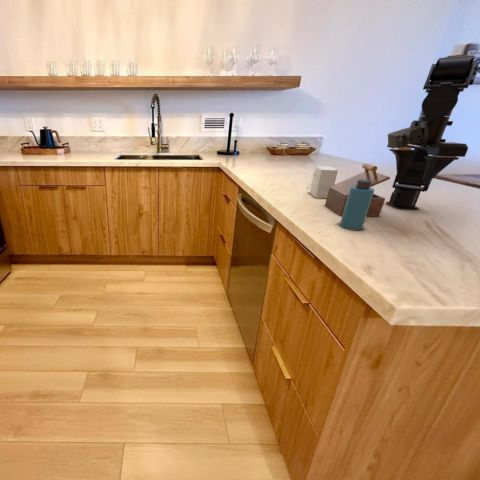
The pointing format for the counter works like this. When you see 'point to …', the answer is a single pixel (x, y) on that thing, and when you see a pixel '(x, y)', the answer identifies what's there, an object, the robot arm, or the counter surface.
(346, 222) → the detergent bottle
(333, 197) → the chest
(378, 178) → the chest lid
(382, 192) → the counter surface
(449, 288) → the counter surface
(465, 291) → the counter surface
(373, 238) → the counter surface
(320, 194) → the small box
